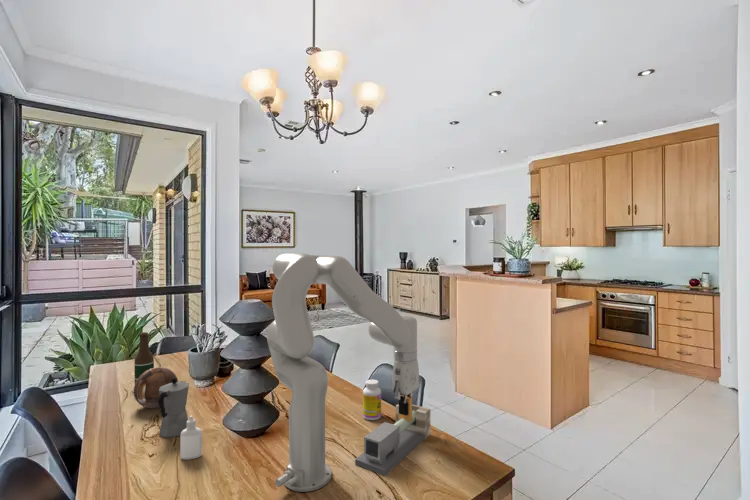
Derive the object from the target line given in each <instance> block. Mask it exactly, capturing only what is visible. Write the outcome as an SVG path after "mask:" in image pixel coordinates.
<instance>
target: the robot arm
mask: <svg viewBox="0 0 750 500" xmlns="http://www.w3.org/2000/svg"><path fill="white" fill-rule="evenodd" d="M272 272H273V275H274V277H275V279H276V280H277V282H276V283H275V286H274V289H273V291H272V292H273V293H272V297H271V304H272V305H271V306H272V312H273V316H274V321H273V322H271V324H270V325H269V327H268V329H267V336H266V337H267V338H266V339H267V345H268V349H269V353H270V356H271V360H272V364H273V368H274V372H275V374H276V376H277V379H278V381H280V383H281V384H283V385H284V386H285V387H287V388H288V389H289V390H290V391H291V400H290V403H289V409H288V437H289V438H288V440H289V442H288V444H289V445H288V451H289V452H288V455H289V456H288V465H287V466H286V467H285V469H286V470H285V471H284V473H283V475H281V476H279V477H278V478H276V479H275V480H274V481H275V486H276V487H277V488H280V487H282V486H283V485H284V486H285V487H286V488H288V489H289V490H291V491H294V492H299V493H304V492H305V493H306V492H312V491H313V492H314V491H316V490H319V489H321V488H324V486H326V485H327V484H328V483H329V482H330V480H331V479H332V478H331V477H332V470H331V467H330V466H329V465H328V464H326V398H327V391H328V386H329V375H328V372H327V370H326V367H324V365H322V364H321V363H320V362H319V361H317V360H315V359H313V358H312V357H310V356H309V355H310V354H311V353H312V351H314V347H315V336H314V332H313V328H312V324H311V320H310V317H309V311H308V307H307V299H306V298H307V294H308V292H309V289H310V288H311V286H312V285H316V284H319V285H320V284H321V285H327V286H329V288H331V289H332V290H333V292H334V293H335V294H336V295H337V296H338V297H339V299H340V300H341V301H342V302H343V303H344V304H345V305H346V307H347V308H348V309H349V310H350V311H351V312H352V313H354V314H356V315H358V316H359V317H360V318H364V319H366V320H367V321H369V322H370V324H369V325H368V335H369V336H370V337H371V338H372V339H373V340H374V341H376V342H378V343H381V344H385V345H389V346H391V347H393V367H392V392H393V394H394V397H393V398H394V399H395V400H397V402H398V404H399V414H403V415H406V416H407V415H408V402H407V397H410V398H412V399H413V396H414V394H413V393H414V392H415V391H416V390H417V389H418V388H419V387H420V371H419V362H418V321H417V318H415V317H414V316H410V315H401V314H400V313H399V312H398V310H397V309H396V308H395V307H393V306H392V305H391V304H390V303H389V302H388V301H386V300H384V298H382V297H381V296H380V295H379V294H377V293H376V292H374V291H373V290H372V288H370V286H369V285H368V284H367V283H366V281H365V280H364V278H362V277H361V275H360V274H359V272H358V271H357V270H356V269H355V267H354V266H353V265H352V264H351V262H350V261H349V260H347V258H345V257H343V256H340V255H313V254H312V255H311V254H309V253H304V252H303V253H302V252H300V253H299V252H294V253H292V252H285V253H282V254H279V256H277V257H276V259H275V260H274V261H273V264H272ZM401 395H402V396H401ZM403 396H404V397H403Z"/></svg>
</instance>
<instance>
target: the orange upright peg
mask: <svg viewBox="0 0 750 500" xmlns="http://www.w3.org/2000/svg"><path fill="white" fill-rule="evenodd" d="M401 396H403V397H404V395H401ZM407 402H408V415H407V416H406V415H403V414H399V419H400V420H399V421H398V422H396V421H395V423H394V424H393V425H397V426H400V433H401V432H403V431H404V430H405V429H406V428H408V427H409V426H410V425H411V424H412V423H414V422H415V421H416V411H414V410H413V411H412V404H413V398H410V397H407Z"/></svg>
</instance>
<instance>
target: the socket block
mask: <svg viewBox="0 0 750 500" xmlns="http://www.w3.org/2000/svg"><path fill="white" fill-rule="evenodd" d="M413 410H414V411H416V421H415V422H414V423H412V424H411V425H410V426H409V427H408V428H406V430H410V431H413V432H416V433H420V434H423V435H424V440H427V438H428V437H430V436H431V434H432V433H431V432H432V431H431V426H432V425H431V408H428V407H424V406H421V405H418V404H417V405H416V404H413V403H412V411H413ZM399 420H400V419H399V403H398V404H396V405H395V423H396V422H398V421H399ZM424 440H423V441H424Z"/></svg>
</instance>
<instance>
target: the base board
mask: <svg viewBox="0 0 750 500" xmlns="http://www.w3.org/2000/svg"><path fill="white" fill-rule="evenodd" d="M423 441H424V435H423V434H420V433H416V432H413V431H410V430H406V429H405V430H404V431H403V432H401V433H400V444H399V445H398V450H397V451H396V452H395V453H392V452H389V453H388V454H387V455H386V461H385V462H384V463H383V464H378V463H375V462H373V461H370V460H367V459H366V456H365V455H364V452H363V453H362V454H360V455H359V456H358V457H356V458H355V459H354V463H355V464H354V465H355V466H358V467H360V468H363V469H366V470H369V471H371V472H373V473H376V474H379V475H381V476H385V477H386V476H387V475H388V474H389V473H390V472H392V470H394V468H396V466H398V465H399V464H400V463H401V462H402V461H403V460H404V459H405V458H406V457H407V456H408V455H410V453H412V451H414V450H415V449H416V448H417V447H418V446H419V445H420V444H421V443H422V442H423Z"/></svg>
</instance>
